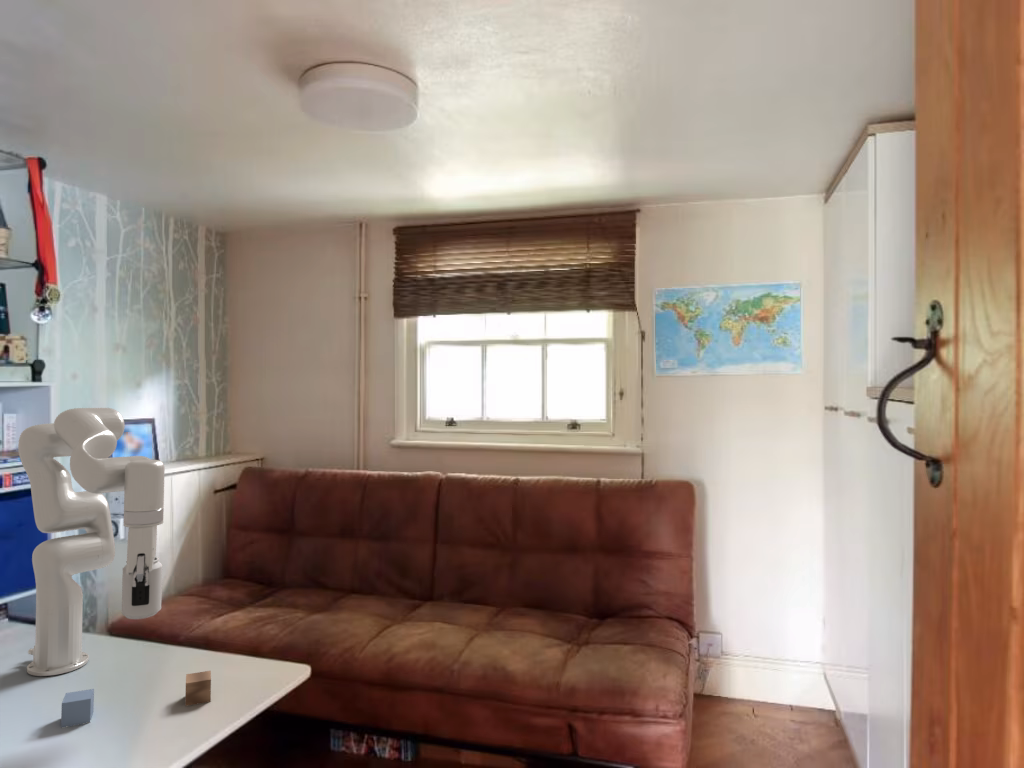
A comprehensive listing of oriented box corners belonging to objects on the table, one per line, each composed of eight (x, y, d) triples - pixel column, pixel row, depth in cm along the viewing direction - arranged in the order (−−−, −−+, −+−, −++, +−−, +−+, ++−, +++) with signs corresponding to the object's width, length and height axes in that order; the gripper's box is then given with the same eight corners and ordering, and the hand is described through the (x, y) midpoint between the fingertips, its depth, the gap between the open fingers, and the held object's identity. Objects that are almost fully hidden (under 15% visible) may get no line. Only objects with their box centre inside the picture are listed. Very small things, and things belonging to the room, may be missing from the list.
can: (143, 622, 138) (144, 564, 138) (112, 618, 139) (114, 562, 139) (169, 610, 145) (170, 555, 145) (139, 607, 146) (140, 553, 146)
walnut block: (185, 706, 143) (185, 683, 143) (185, 696, 148) (186, 674, 148) (210, 702, 145) (210, 679, 145) (210, 692, 150) (210, 670, 150)
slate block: (61, 728, 133) (61, 703, 133) (65, 716, 138) (65, 693, 138) (90, 723, 136) (90, 698, 136) (93, 712, 140) (93, 688, 140)
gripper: (127, 511, 148) (125, 589, 148) (119, 526, 133) (117, 614, 132) (165, 509, 152) (163, 585, 151) (161, 524, 136) (159, 609, 136)
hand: (141, 598), depth 142 cm, fingers closed on can, 7 cm apart
